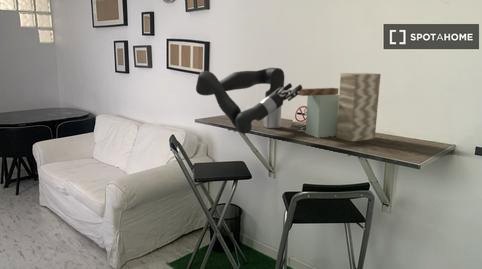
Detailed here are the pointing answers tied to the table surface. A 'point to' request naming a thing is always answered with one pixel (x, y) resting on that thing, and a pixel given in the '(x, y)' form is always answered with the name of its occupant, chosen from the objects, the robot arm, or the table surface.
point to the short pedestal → (322, 115)
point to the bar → (318, 91)
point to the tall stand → (358, 106)
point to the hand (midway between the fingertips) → (296, 85)
